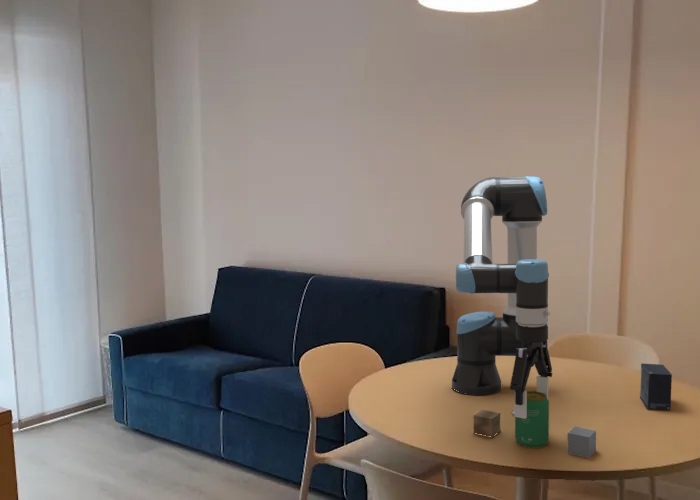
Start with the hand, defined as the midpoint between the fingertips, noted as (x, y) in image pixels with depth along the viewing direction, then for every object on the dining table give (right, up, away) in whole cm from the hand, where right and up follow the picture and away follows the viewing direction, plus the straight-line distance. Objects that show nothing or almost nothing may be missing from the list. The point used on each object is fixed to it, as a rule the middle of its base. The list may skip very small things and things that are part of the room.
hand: (531, 409), depth 170 cm
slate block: (+11, -9, -5) cm, 15 cm away
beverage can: (0, -9, +1) cm, 9 cm away
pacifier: (+3, -7, +21) cm, 22 cm away
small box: (+42, -5, +26) cm, 50 cm away
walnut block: (-9, -8, +8) cm, 15 cm away
